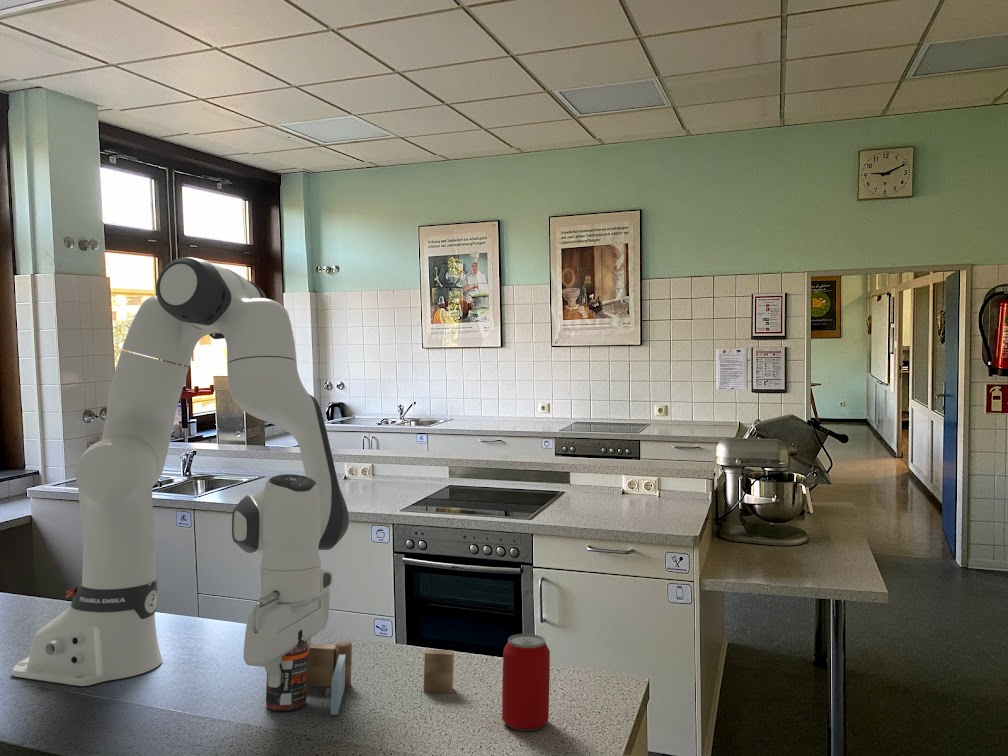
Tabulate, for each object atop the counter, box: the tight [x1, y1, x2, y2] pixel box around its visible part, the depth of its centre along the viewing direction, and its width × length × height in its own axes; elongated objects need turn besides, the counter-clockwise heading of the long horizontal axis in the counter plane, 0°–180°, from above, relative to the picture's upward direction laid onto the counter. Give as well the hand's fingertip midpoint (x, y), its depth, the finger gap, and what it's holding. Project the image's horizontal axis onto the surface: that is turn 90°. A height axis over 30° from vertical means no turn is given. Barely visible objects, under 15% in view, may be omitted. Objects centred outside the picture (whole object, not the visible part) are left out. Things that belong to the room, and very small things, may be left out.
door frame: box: [307, 641, 455, 694], centre depth 124 cm, size 27×3×6 cm, turn 85°
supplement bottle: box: [265, 630, 308, 712], centre depth 116 cm, size 6×6×11 cm
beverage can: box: [501, 633, 551, 732], centre depth 111 cm, size 7×7×12 cm
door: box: [324, 654, 346, 716], centre depth 117 cm, size 11×2×5 cm, turn 7°
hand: (287, 677), depth 116 cm, fingers closed on supplement bottle, 6 cm apart
